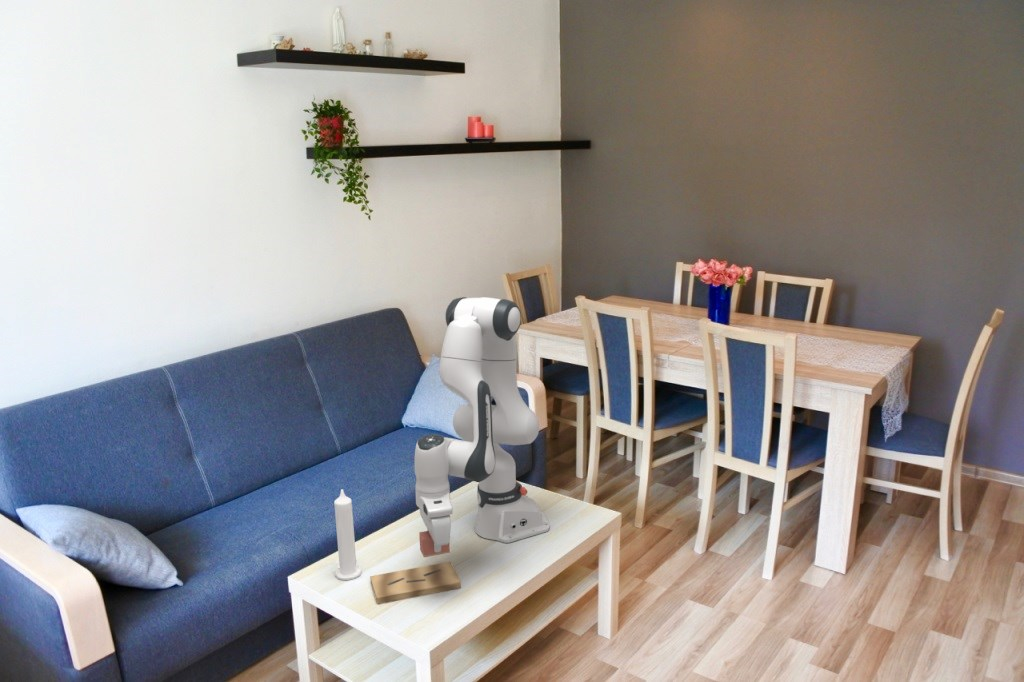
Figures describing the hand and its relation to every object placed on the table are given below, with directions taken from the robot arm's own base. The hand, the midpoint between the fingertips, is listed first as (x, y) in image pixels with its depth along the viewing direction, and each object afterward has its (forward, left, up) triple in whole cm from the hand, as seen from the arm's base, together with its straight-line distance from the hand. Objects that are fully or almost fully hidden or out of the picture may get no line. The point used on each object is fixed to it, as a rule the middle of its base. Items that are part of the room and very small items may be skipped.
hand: (434, 545), depth 214 cm
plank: (+6, 0, -11) cm, 12 cm away
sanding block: (0, 0, -2) cm, 2 cm away
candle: (+22, -12, -11) cm, 27 cm away
